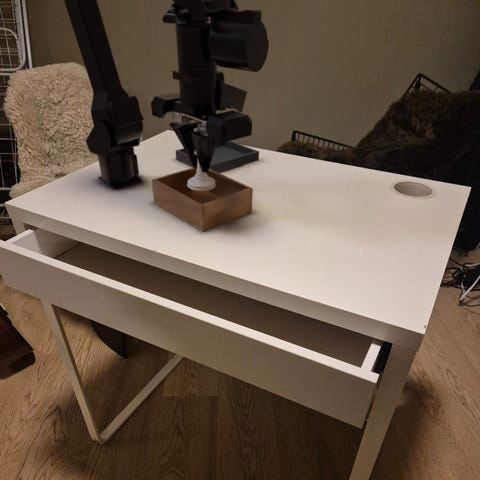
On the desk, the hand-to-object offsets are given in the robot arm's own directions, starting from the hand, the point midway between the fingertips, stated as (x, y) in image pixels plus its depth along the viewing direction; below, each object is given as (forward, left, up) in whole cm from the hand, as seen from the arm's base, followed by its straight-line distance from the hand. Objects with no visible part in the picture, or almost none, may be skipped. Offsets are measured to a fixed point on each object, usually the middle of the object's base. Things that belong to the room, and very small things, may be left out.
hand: (201, 170), depth 70 cm
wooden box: (0, 0, -7) cm, 7 cm away
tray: (+18, +17, -7) cm, 26 cm away
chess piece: (0, 0, -3) cm, 3 cm away
